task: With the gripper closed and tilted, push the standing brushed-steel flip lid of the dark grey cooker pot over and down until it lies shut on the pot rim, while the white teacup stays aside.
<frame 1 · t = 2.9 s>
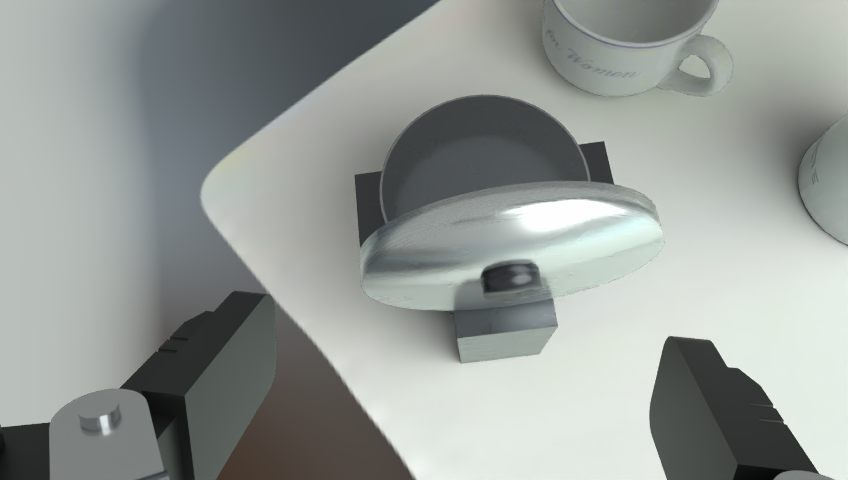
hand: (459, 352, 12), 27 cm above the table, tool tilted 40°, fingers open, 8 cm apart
lid: (508, 268, 24), point 15 cm above the table, hinge at 89.6°
teacup: (619, 70, 45), on the table
pot: (482, 239, 41), on the table
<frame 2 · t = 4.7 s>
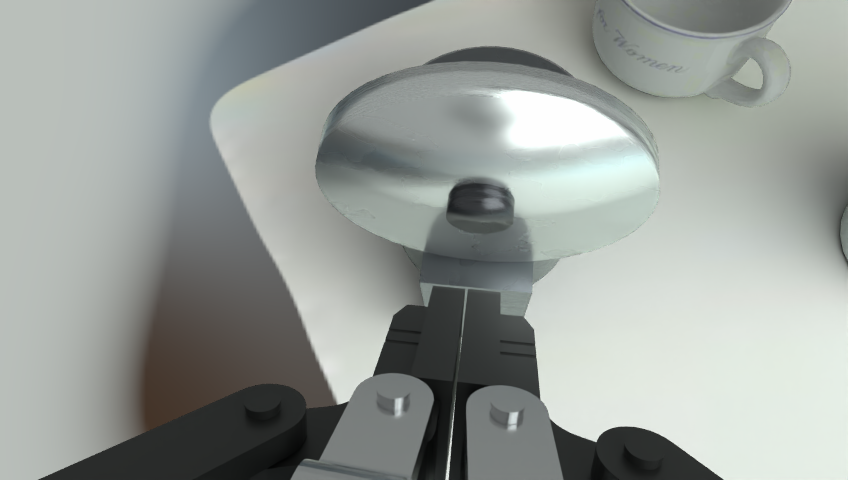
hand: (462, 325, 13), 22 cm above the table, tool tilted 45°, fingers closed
lid: (481, 194, 22), point 15 cm above the table, hinge at 89.6°
teacup: (669, 75, 42), on the table
pot: (483, 213, 38), on the table
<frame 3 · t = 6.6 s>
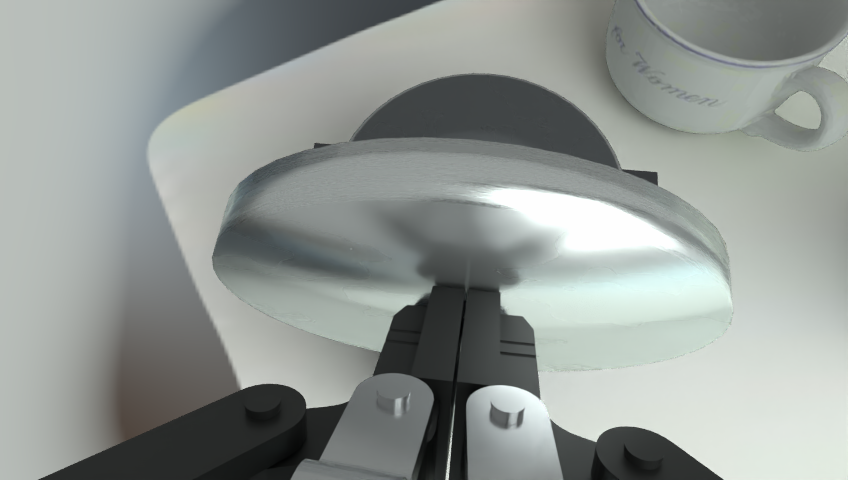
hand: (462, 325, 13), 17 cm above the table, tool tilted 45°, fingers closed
lid: (461, 307, 15), point 15 cm above the table, hinge at 89.5°, touching gripper
teacup: (694, 104, 35), on the table
pot: (471, 271, 32), on the table
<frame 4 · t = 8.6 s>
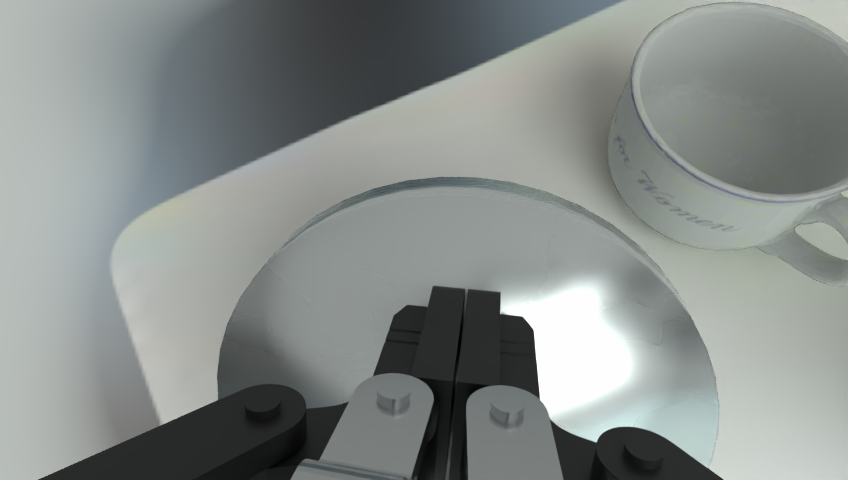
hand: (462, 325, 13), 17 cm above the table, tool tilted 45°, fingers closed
lid: (455, 423, 15), point 14 cm above the table, hinge at 47.0°, touching gripper
teacup: (705, 206, 32), on the table
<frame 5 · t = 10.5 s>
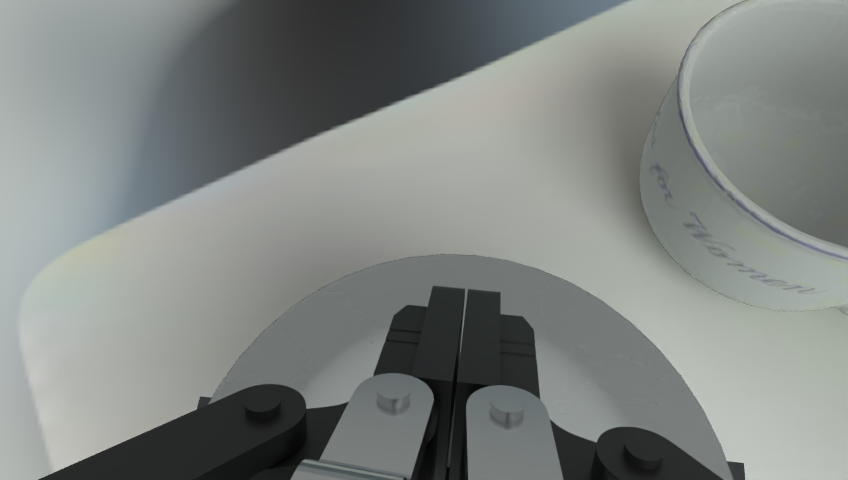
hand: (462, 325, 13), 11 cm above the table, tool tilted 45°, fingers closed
teacup: (760, 246, 26), on the table
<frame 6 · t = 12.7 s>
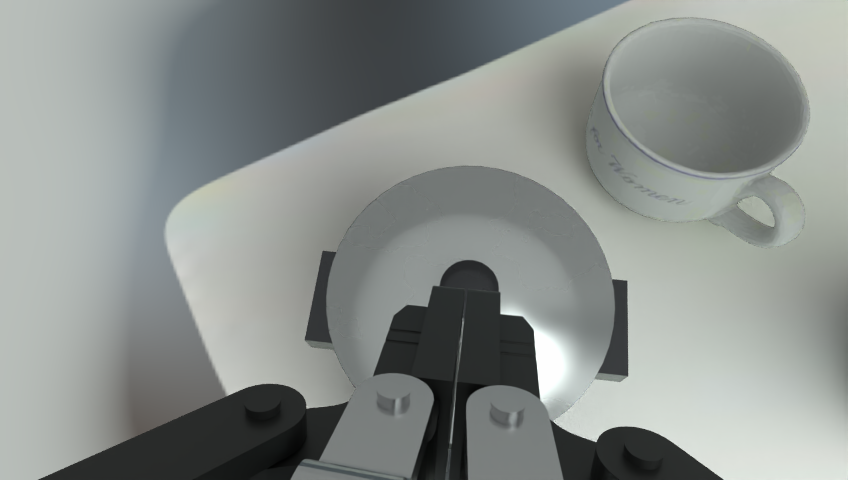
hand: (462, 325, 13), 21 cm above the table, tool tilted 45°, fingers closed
lid: (468, 294, 25), point 10 cm above the table, hinge at 2.0°
teacup: (668, 187, 39), on the table
pot: (464, 349, 35), on the table
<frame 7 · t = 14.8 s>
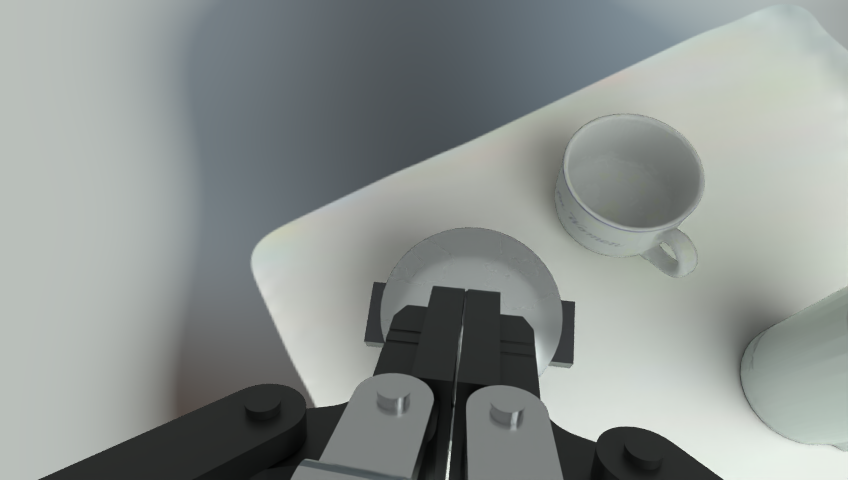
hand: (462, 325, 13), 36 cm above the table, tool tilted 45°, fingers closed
lid: (470, 312, 40), point 10 cm above the table, hinge at 2.0°
teacup: (616, 229, 53), on the table
pot: (468, 347, 49), on the table
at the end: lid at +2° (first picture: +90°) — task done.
